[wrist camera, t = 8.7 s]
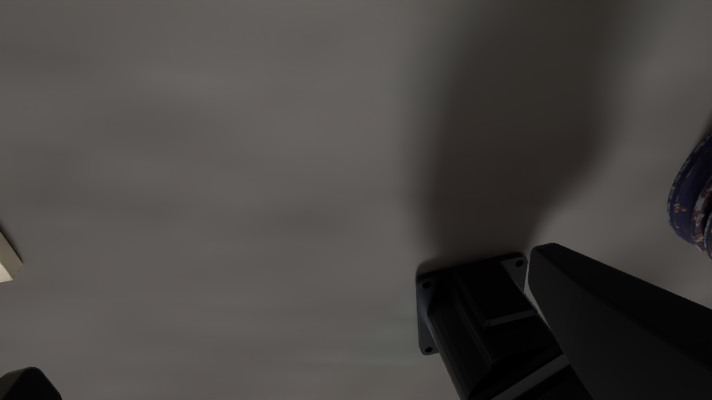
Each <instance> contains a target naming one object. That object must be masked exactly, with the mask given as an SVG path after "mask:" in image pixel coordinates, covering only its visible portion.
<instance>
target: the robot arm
mask: <svg viewBox="0 0 712 400" xmlns="http://www.w3.org/2000/svg"><path fill="white" fill-rule="evenodd" d="M517 261H518V262H517ZM527 263H528V260H527V258H526V257H525V256H524V255H523V253H520V252H517V253H512V254H508V255H504V256H499V257H495V258H490V259H486V260H482V261H477V262H473V263H469V264H464V265H460V266H456V267H451V268H447V269H443V270H438V271H434V272H430V273H425V274H422V275H420V276H419V277H418V278H417V280H416V294H417V314H418V333H419V347H420V350H421V352H422V354H423V355H431V354H435V353H440V355H441V357H442V359H443V362H444V364H445V366H446V368H447V371H448V373H449V375H450V377H451V380H452V382H453V384H454V386H455V388H456V391H457V393H458V395H459V397H460V400H712V309H709V308H707V307H705V306H702V305H700V304H698V303H695V302H693V301H691V300H688V299H686V298H684V297H681V296H679V295H676V294H674V293H672V292H669V291H667V290H665V289H662V288H660V287H658V286H655V285H653V284H651V283H648V282H646V281H644V280H641V279H639V278H637V277H634V276H632V275H630V274H627V273H625V272H623V271H620V270H618V269H615V268H613V267H611V266H608V265H606V264H604V263H601V262H599V261H597V260H594V259H592V258H590V257H587V256H585V255H583V254H580V253H578V252H576V251H573V250H571V249H569V248H566V247H564V246H562V245H559V244H556V243H548V244H544V245H539V246H536V247H534V248H533V249H532V250H531V254H530V263H529V272H528V284H529V288H530V291H531V293H532V295H533V296H534V298H535V300H536V302H537V304H538V306H539V308H540V310H541V311H542V313H543V315H544V317H545V319H546V321H547V323H548V325H549V326H550V328H551V329H550V328H549V327H548V325H547V324H546V323H545V321H544V320H543V319H542V317H541V316H540V315H539V313H538V311H537V309H536V308H535V306H534V305H533V304H532V302H531V301H530V300H529V298H528V297H527V296H526V294H525V293H524V286H525V278H526V271H527ZM425 282H427V283H425ZM424 283H425V284H424ZM551 330H552V331H551ZM0 400H62V398H61V395H60V393H59V392H58V391H57V389H56V388H55V387H54V386H53V384H52V383H51V382H50V381H49V380H48V378H47V377H46V376H45V375H44V373H43V372H42V371H41V370H40V369H38V368H36V367H28V368H23V369H19V370H15V371H11V372H9V373H7V374H5V375H4V376H2V377H1V378H0Z"/></svg>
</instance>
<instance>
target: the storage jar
mask: <svg viewBox="0 0 712 400" xmlns="http://www.w3.org/2000/svg"><path fill="white" fill-rule="evenodd" d="M667 216H668V222H669V224H670V226H671V228H672V230H673V231H674V232H675V233H676V234H677V235H679V236H680V237H681V238H683V239H684V240H686V241H687V242H689V243H691V244H694V245H695V246H696V247H697V248H698V249H699V250H700V251H701V252H703V253H704V254H705V255H707V256H708V257H709V258H710V260H711V261H712V133H710V134H709V135H708V136H707V137H706V138H705V139H704V140H703V141H702V142H701V143H700V144H699V146H698V147H697V148H696V149H695V150H694V152H693V153H692V154H691V155H690V156H689V158H688V159H687V161H686V162H685V164H684V165H683V167H682V168H681V170H680V172H679V173H678V175H677V177H676V179H675V181H674V183H673V186H672V189H671V191H670V195H669V199H668V203H667Z"/></svg>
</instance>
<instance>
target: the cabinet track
mask: <svg viewBox="0 0 712 400" xmlns="http://www.w3.org/2000/svg"><path fill="white" fill-rule="evenodd" d="M22 266H23V263H22V262H21V260H20V259H19V258H18V256H17V255H16V253H15V252H14V250H13V249H12V247H11V246H10V245H9V243H8V242H7V240H6V239H5V237H4V236H3V235H2V233H1V232H0V282H5V281H9V280H13V279H14V278H15V276H16V275H17V273H18V272H19V270H20V269H21V267H22Z"/></svg>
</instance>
